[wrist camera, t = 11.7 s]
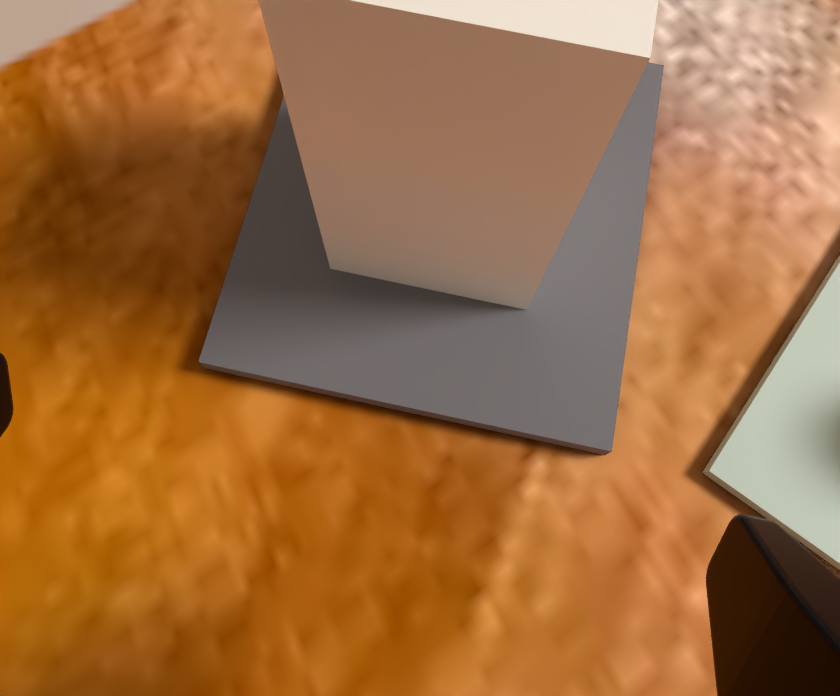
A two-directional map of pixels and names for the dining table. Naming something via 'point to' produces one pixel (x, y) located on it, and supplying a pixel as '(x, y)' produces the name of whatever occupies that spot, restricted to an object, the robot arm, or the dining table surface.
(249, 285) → the mat
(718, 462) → the coaster
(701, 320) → the dining table surface
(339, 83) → the block
